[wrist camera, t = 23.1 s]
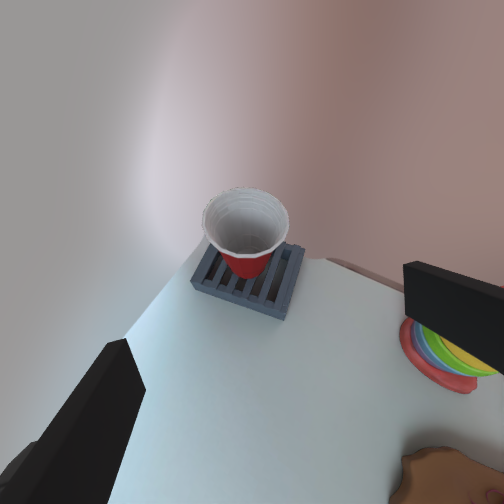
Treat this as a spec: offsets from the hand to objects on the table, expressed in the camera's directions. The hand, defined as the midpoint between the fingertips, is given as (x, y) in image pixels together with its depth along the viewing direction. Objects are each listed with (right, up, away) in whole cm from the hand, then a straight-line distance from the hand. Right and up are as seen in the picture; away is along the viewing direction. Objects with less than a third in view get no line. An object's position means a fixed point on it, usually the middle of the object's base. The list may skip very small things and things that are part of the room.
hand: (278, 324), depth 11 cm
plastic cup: (-2, +1, +29) cm, 29 cm away
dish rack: (-1, -1, +32) cm, 32 cm away
